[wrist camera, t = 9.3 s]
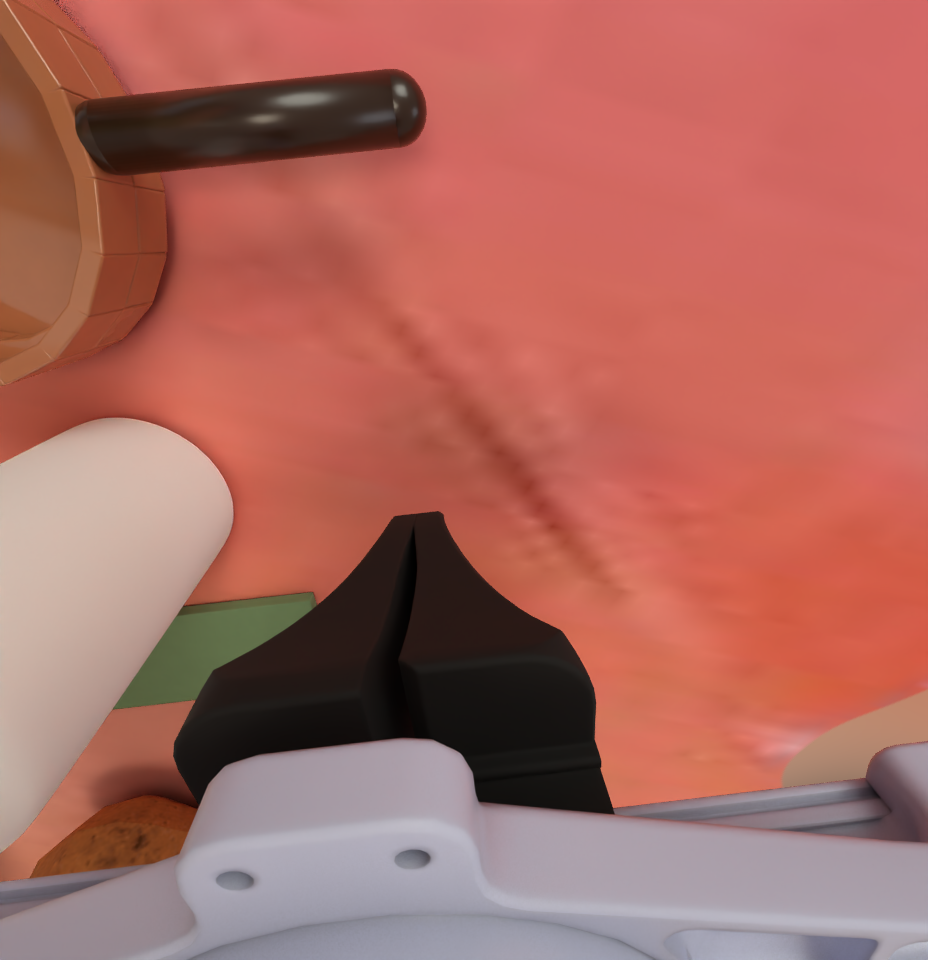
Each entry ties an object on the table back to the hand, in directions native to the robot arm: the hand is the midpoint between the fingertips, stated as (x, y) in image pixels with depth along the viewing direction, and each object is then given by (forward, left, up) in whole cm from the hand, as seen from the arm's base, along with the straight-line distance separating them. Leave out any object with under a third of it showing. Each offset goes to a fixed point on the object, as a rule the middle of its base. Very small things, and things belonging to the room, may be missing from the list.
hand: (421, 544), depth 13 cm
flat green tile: (-8, +11, -6) cm, 15 cm away
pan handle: (+10, +2, -3) cm, 11 cm away
